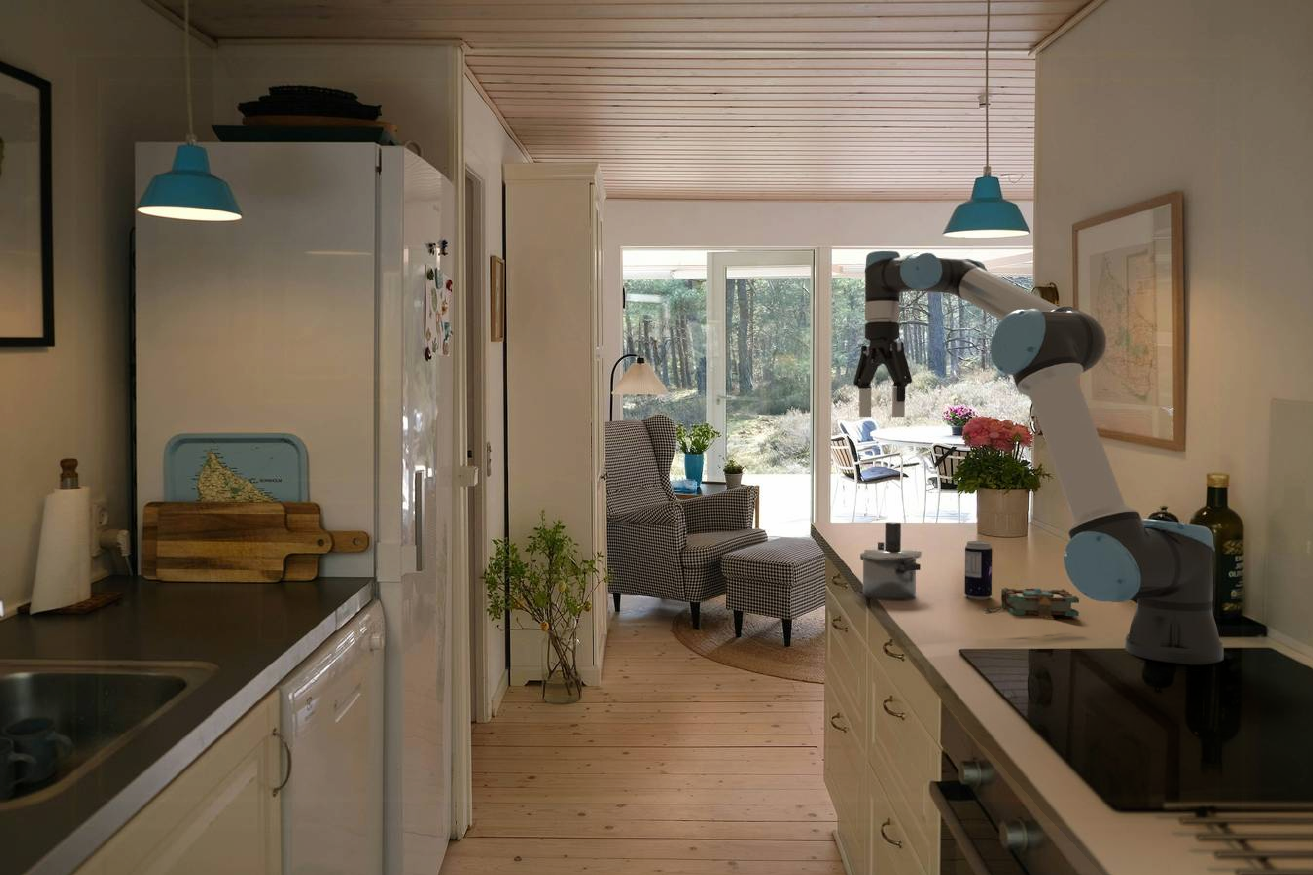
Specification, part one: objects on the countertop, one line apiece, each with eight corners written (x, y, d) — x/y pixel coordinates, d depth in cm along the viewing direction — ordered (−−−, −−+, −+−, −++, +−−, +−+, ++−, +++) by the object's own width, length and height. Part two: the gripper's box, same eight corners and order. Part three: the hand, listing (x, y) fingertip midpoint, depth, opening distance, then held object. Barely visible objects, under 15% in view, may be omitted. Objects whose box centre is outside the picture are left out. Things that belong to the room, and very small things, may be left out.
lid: (933, 557, 217) (934, 524, 216) (888, 561, 211) (888, 527, 211) (896, 550, 227) (897, 519, 227) (853, 553, 222) (853, 521, 222)
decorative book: (975, 605, 212) (975, 582, 212) (1063, 608, 210) (1063, 583, 210) (989, 618, 199) (990, 593, 199) (1083, 620, 197) (1083, 595, 197)
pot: (891, 588, 231) (891, 548, 231) (936, 601, 215) (936, 558, 215) (844, 591, 227) (844, 550, 227) (887, 604, 211) (887, 561, 211)
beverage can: (993, 600, 216) (994, 544, 215) (965, 599, 217) (966, 543, 217) (990, 596, 221) (990, 541, 221) (963, 595, 222) (963, 540, 222)
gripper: (929, 317, 216) (928, 417, 217) (867, 326, 240) (866, 417, 240) (898, 316, 214) (897, 417, 214) (839, 325, 237) (838, 416, 238)
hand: (881, 417), depth 227 cm, fingers open, 13 cm apart
